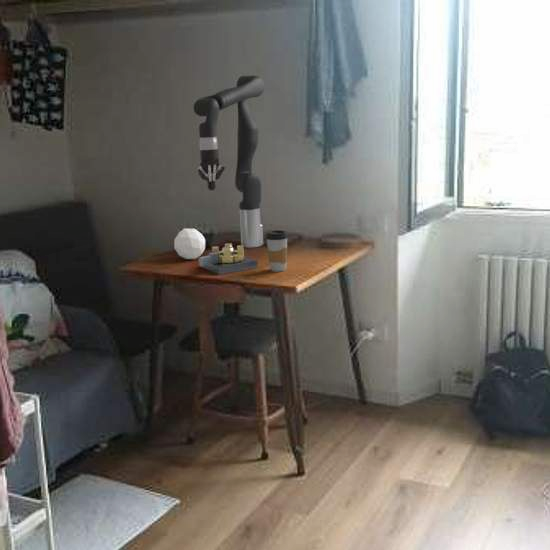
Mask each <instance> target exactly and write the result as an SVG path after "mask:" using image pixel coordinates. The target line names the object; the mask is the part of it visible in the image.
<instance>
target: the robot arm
mask: <svg viewBox="0 0 550 550" xmlns="http://www.w3.org/2000/svg"><path fill="white" fill-rule="evenodd" d="M264 91H265V82H264V80H263V78H262V77H260V76H258V75H241V76H239V77H238V79H237V82H236V86H235V87H230V88H227V89H223V90H220V91H218V92H216V93H214V94H211V95H207V96H204V97H200V98H198V99H197V100H196V101H195V102H194V103H193V111H194V113H195V115H197V116H199V117H205V121H204V122H201V123H200V124H199V126H198V131H199V132H198V133H199V155H200V164H199V167H198V168H196V169H195V172H196V173H197V174H198V176H199V177H200V178H201V179H202V180H203V181H206V182H207V189H208V190H209V191H215V189H216V181H217V180H219V179H220V178H221V176H222V175H223V172H224V171H225V169H226V167H225V166H222V165H221V163H220V161H219V144H218V143H219V142H218V138H217V137H218V136H217V135H218V134H217V124H218V118H219V114H220V111H223V110H224V109H227V108H228V107H230V106H233V105H234V104H237V137H236V138H237V139H236V140H237V152H236V153H237V154H236V157H237V159H236V160H237V161H236V171H235V178H234V185H235V187H236V190H237V192H238V191H239V192H240V193H242V200H241V201H240V202H239V204H238V207H239V226H240V227H239V228H240V244H241V245H243V248H258V247H261V246H263V245H264V232H263V231H264V230H263V229H264V228H263V224H262V223H261V210H260V209H261V208H260V206H261V201H262V183H261V179H260V177H259V176H258V174H256V173H254V172H253V173H252V171H253V168H252V164H253V159H254V155H255V154H256V151H257V148H258V144H259V127H258V124H257V121H256V119H255V116H253V114H252V111H251V106H250V104H251V103H250V99H252V98H257V97H260V96H261V95H263V93H264ZM262 244H263V245H262Z"/></svg>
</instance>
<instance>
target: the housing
mask: <svg viewBox="0 0 550 550" xmlns="http://www.w3.org/2000/svg"><path fill="white" fill-rule="evenodd" d="M229 248H231V255H234V251H235V250H234V247H233V246H232V247H225V246H224V247H222V248H221V249H222V250H221V251H223V249H229ZM233 250H234V251H233ZM223 256H224V253H223ZM258 265H259V264H258V260H257V259H254V258H251V257H249V256H246V255H244V260H242V261H238V262H233V263H213V264H209V265H205V266H200V268H202V269H205V270H208V271H210V272H212V273H215V274H217V275H219V274H220V275H224V274H230V272H231V273H237V272H240V271H242V270H243V271H247V270H252V269H258V267H259V266H258ZM236 271H237V272H236Z"/></svg>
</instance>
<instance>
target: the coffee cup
mask: <svg viewBox="0 0 550 550" xmlns="http://www.w3.org/2000/svg"><path fill="white" fill-rule="evenodd" d="M265 238H266V244H267V245H266V246H267V253H268V263H269V269H270V271H271V272H277V273H278V272H285V271H286V270H287V266H288V265H287V264H288V263H287V261H288V233H287V231H286V230H281V229H280V230H270V231H267V233H266V237H265Z"/></svg>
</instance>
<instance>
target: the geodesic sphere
mask: <svg viewBox="0 0 550 550" xmlns="http://www.w3.org/2000/svg"><path fill="white" fill-rule="evenodd" d="M173 248H174V250H175V251H176V252H177V254H178V256H180V257H181V258H183V259H184V260H196V259H198V258H200V256H201V255H203V253H204V251H205V249H206V238H205V236H204V235H203V233H201V232H200V231H198V230H197V229H196V228H192V227H190V228H185V227H183V228H182V230H181V231H179V232H178V234H177V235H176V237H175V238H174V247H173Z"/></svg>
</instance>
